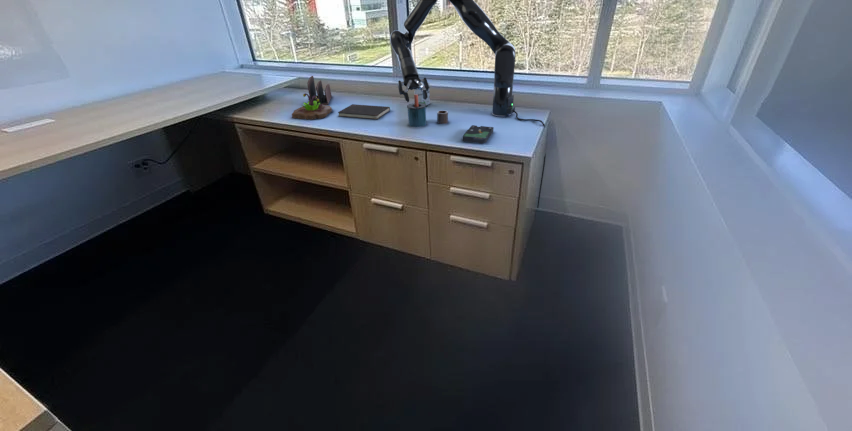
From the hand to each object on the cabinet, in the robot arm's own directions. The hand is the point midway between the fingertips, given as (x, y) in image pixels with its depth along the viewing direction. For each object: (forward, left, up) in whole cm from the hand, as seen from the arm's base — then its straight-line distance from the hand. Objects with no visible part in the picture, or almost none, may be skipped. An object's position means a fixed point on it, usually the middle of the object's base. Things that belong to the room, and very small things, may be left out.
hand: (417, 99), depth 176 cm
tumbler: (+1, -1, -12) cm, 13 cm away
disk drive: (-32, -1, -13) cm, 35 cm away
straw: (+1, -1, -12) cm, 12 cm away
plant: (+63, +14, -13) cm, 65 cm away
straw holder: (-8, -9, -12) cm, 17 cm away
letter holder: (+79, -6, -13) cm, 80 cm away
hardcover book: (+38, -1, -13) cm, 40 cm away
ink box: (+20, -29, -13) cm, 37 cm away
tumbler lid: (+1, -1, -3) cm, 4 cm away
